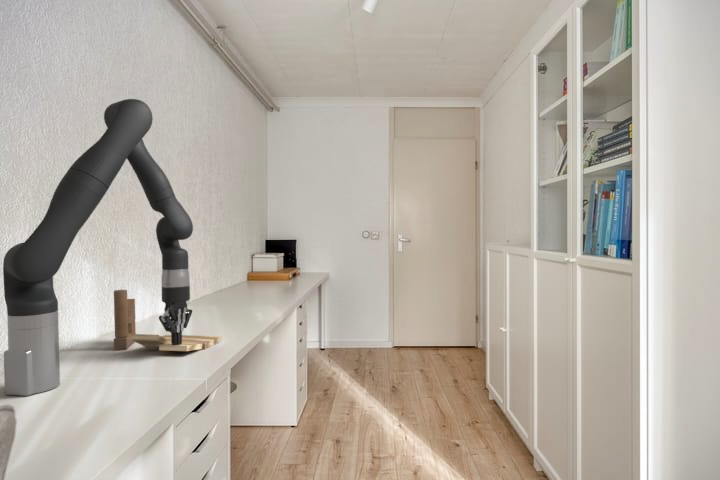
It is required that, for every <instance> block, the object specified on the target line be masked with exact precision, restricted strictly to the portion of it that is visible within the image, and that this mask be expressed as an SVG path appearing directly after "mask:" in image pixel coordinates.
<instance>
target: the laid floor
mask: <svg viewBox="0 0 720 480" xmlns="http://www.w3.org/2000/svg"><path fill="white" fill-rule="evenodd" d="M160 336H161V337H163V338H165V339H167V340H168V341H170V342H171V341H172V340H171V334H164V335H160ZM219 341H221V342H222V336H221V335H191V334H190V335H187V334H182V343H195V344H202V349H201V350H207V349H209V348H210V346H211V347H213V346H215V345H216V344H215V343H217V342H219ZM219 343H220V342H219ZM214 344H215V345H214ZM217 344H218V343H217ZM212 345H213V346H212ZM208 347H209V348H208ZM148 348H151V349H153V348H154V349H155V348H157V349H159V347H148ZM206 348H207V349H206Z"/></svg>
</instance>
